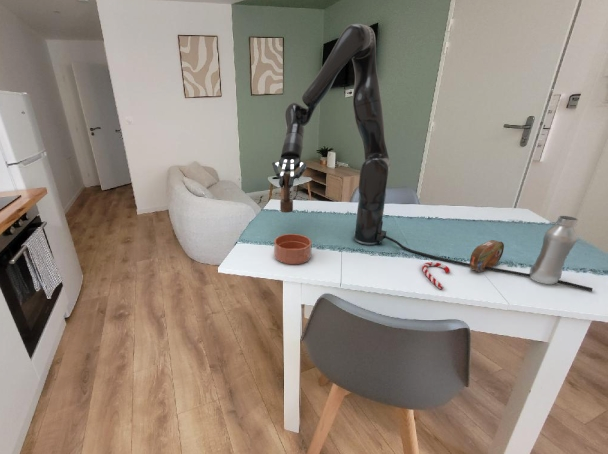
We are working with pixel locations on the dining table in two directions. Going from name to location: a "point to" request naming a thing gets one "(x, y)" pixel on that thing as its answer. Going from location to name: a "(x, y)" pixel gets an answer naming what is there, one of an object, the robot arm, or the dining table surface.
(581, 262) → the dining table surface
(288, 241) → the bowl
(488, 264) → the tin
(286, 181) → the pestle
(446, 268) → the candy cane
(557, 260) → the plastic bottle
